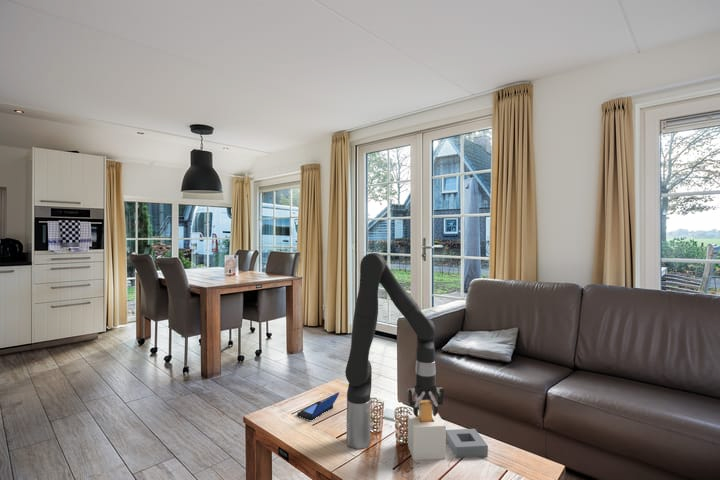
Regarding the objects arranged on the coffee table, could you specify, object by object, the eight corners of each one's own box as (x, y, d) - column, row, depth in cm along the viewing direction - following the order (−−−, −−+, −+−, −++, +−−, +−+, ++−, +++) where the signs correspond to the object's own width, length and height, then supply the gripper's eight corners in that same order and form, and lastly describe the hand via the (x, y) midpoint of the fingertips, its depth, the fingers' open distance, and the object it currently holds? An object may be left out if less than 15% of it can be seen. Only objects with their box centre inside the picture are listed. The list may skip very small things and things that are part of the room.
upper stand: (413, 460, 132) (413, 427, 132) (406, 441, 144) (406, 411, 144) (445, 458, 133) (445, 425, 133) (435, 440, 145) (436, 410, 145)
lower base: (456, 457, 133) (456, 447, 133) (445, 439, 145) (445, 429, 145) (487, 456, 134) (487, 445, 134) (474, 438, 146) (474, 428, 146)
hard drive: (370, 412, 166) (395, 418, 160) (378, 405, 173) (402, 411, 167) (370, 416, 166) (395, 422, 160) (378, 408, 173) (402, 414, 167)
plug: (421, 429, 136) (421, 405, 136) (418, 423, 140) (418, 400, 140) (431, 428, 137) (432, 404, 137) (429, 423, 141) (429, 400, 141)
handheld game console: (318, 403, 178) (318, 384, 178) (340, 411, 170) (340, 391, 170) (295, 416, 165) (295, 396, 165) (318, 425, 157) (318, 403, 157)
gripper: (409, 376, 134) (408, 421, 134) (447, 375, 135) (446, 419, 135) (404, 368, 142) (404, 411, 142) (440, 367, 143) (440, 410, 143)
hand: (425, 415), depth 138 cm, fingers open, 6 cm apart
